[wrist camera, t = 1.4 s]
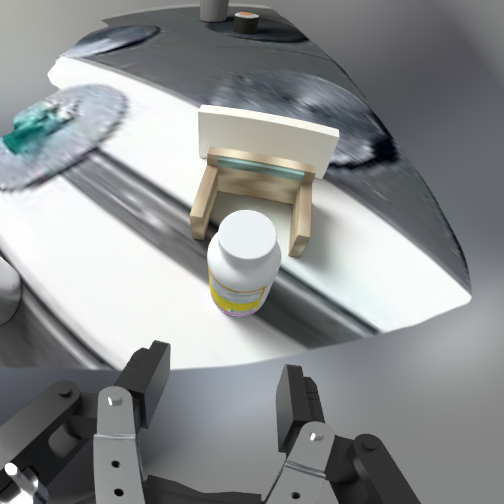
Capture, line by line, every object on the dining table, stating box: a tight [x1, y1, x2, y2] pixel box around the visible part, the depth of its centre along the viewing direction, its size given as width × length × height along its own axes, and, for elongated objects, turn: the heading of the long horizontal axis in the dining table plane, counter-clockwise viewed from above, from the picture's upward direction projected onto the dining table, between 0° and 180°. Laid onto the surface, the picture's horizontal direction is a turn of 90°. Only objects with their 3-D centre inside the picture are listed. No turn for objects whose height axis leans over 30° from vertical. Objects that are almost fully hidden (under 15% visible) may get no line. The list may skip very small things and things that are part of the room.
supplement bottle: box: [207, 210, 281, 317], centre depth 28 cm, size 7×7×13 cm
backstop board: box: [198, 105, 340, 179], centre depth 41 cm, size 20×2×9 cm, turn 82°
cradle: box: [190, 146, 316, 258], centre depth 36 cm, size 14×10×7 cm
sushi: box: [233, 12, 259, 34], centre depth 77 cm, size 8×8×8 cm
